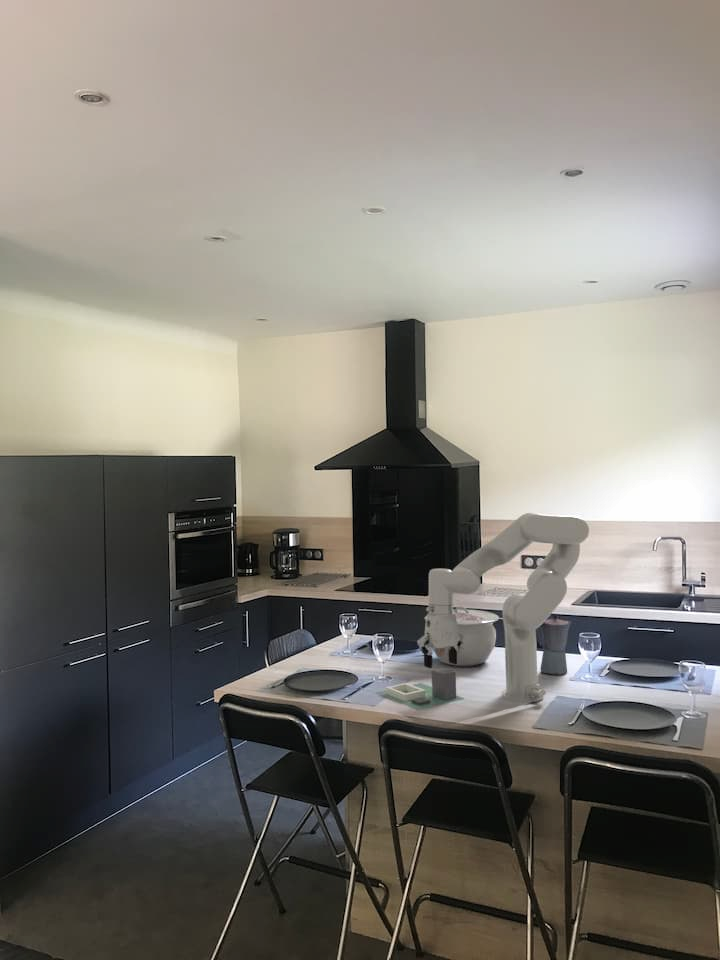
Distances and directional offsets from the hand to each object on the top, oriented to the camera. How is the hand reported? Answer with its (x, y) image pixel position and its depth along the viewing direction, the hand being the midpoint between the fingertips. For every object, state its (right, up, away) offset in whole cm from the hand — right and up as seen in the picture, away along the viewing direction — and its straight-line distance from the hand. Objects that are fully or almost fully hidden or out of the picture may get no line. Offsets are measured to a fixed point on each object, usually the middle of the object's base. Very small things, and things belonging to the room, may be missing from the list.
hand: (440, 665), depth 231 cm
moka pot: (+42, -10, +29) cm, 52 cm away
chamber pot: (+13, -11, +47) cm, 50 cm away
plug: (+1, -10, 0) cm, 10 cm away
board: (-6, -11, +2) cm, 13 cm away
